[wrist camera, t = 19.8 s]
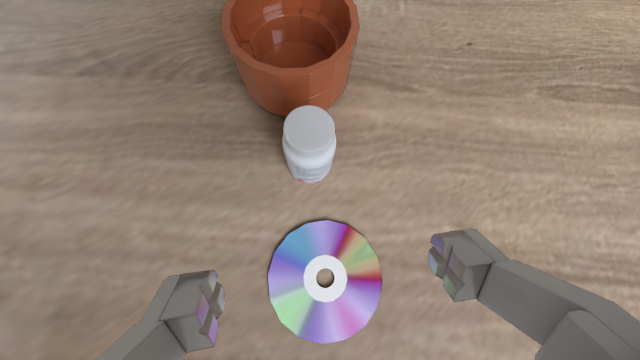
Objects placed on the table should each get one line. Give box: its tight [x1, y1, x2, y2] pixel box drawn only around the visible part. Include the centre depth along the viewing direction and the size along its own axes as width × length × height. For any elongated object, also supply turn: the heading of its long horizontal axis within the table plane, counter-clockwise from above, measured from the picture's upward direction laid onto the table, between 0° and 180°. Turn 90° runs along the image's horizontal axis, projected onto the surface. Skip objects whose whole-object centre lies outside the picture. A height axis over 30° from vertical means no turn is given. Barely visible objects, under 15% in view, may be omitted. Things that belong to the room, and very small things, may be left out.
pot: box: [221, 0, 360, 117], centre depth 25 cm, size 13×13×8 cm
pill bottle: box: [282, 105, 336, 184], centre depth 21 cm, size 5×5×8 cm
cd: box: [268, 220, 382, 344], centre depth 22 cm, size 11×11×1 cm
